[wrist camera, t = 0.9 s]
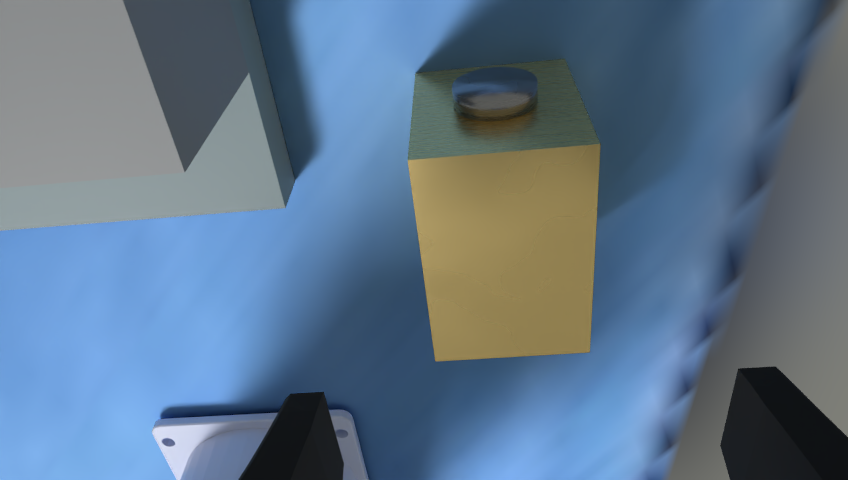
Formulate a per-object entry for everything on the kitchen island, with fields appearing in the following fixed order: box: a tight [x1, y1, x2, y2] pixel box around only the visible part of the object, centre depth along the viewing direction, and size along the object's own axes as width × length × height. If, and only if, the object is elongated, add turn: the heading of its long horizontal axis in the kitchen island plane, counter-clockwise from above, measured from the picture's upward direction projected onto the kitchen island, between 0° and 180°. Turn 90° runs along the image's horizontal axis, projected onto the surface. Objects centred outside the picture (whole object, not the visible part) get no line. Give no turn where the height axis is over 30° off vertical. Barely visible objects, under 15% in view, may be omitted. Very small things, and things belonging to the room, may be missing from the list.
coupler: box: [408, 59, 601, 361], centre depth 18 cm, size 4×7×5 cm, turn 6°
